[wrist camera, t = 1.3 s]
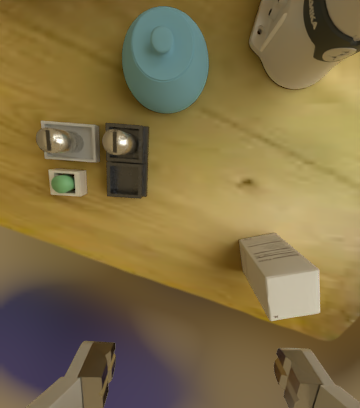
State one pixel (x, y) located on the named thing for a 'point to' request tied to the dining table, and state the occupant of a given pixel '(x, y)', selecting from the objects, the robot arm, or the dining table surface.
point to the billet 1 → (59, 141)
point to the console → (79, 181)
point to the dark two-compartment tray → (129, 165)
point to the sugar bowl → (165, 60)
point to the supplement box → (280, 277)
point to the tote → (89, 137)
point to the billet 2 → (119, 142)
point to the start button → (63, 183)
